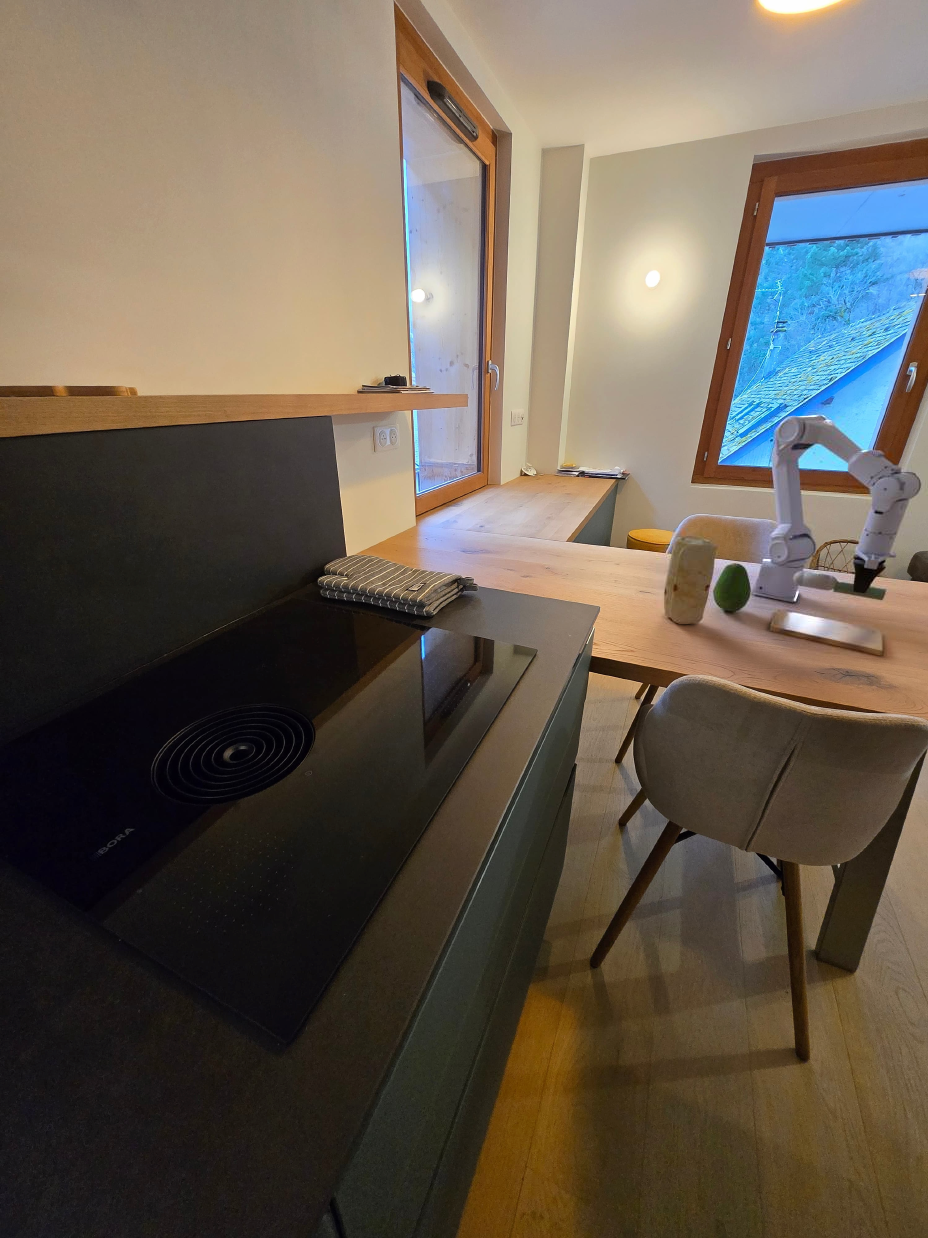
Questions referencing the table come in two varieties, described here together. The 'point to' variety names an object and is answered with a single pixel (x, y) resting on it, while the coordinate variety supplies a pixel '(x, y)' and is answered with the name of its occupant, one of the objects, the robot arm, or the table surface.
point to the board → (828, 631)
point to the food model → (689, 579)
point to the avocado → (732, 588)
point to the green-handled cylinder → (834, 585)
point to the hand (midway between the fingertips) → (859, 589)
